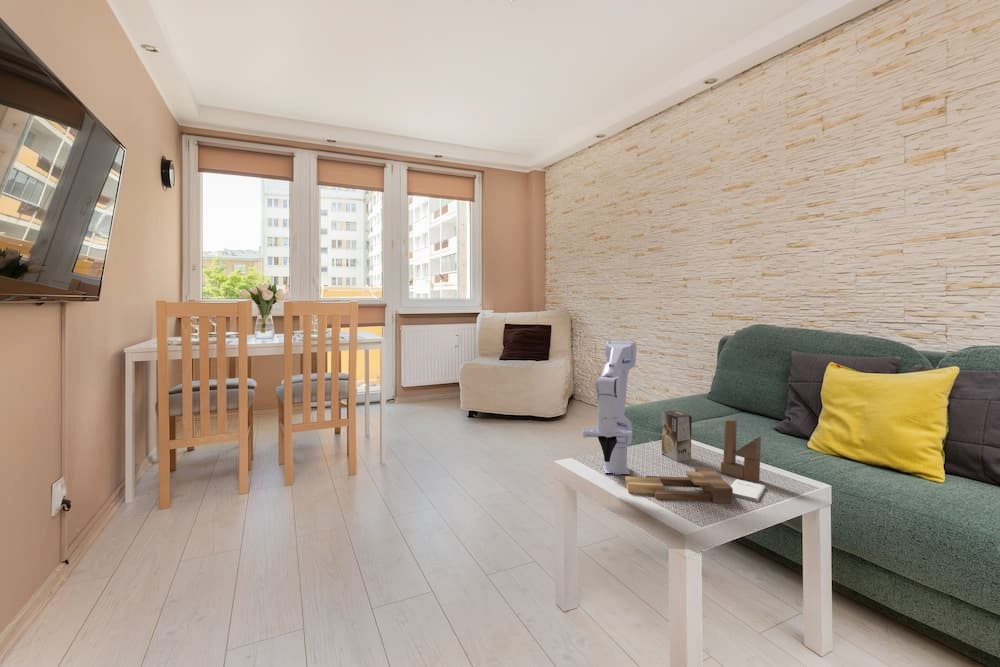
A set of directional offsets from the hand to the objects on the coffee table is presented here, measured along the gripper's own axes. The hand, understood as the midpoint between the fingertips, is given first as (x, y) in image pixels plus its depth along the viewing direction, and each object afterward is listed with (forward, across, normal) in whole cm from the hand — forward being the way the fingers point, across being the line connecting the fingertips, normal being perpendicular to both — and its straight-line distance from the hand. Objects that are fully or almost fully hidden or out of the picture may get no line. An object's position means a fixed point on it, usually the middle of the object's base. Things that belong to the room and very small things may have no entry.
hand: (606, 460), depth 139 cm
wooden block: (+9, +44, +13) cm, 47 cm away
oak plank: (+9, +11, 0) cm, 14 cm away
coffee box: (+9, +29, +31) cm, 43 cm away
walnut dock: (+8, +23, 0) cm, 24 cm away
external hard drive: (+9, +41, +1) cm, 42 cm away
